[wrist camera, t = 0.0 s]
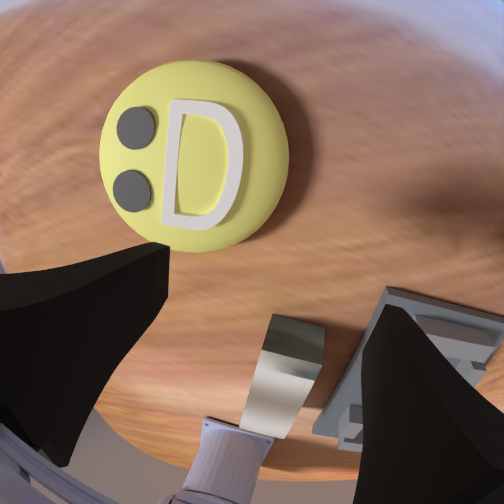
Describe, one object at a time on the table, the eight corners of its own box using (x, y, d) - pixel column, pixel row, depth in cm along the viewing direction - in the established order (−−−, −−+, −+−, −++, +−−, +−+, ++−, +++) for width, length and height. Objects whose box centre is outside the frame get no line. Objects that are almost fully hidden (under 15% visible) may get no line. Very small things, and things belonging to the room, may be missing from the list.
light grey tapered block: (290, 405, 26) (283, 439, 23) (249, 394, 27) (238, 427, 23) (325, 327, 22) (322, 365, 18) (272, 313, 22) (261, 349, 19)
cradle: (414, 438, 25) (416, 460, 23) (312, 425, 27) (309, 449, 24) (507, 318, 18) (521, 341, 15) (386, 286, 19) (393, 311, 17)
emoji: (305, 64, 12) (90, 59, 13) (267, 285, 18) (88, 246, 19) (304, 74, 16) (123, 64, 17) (273, 255, 21) (116, 224, 22)
